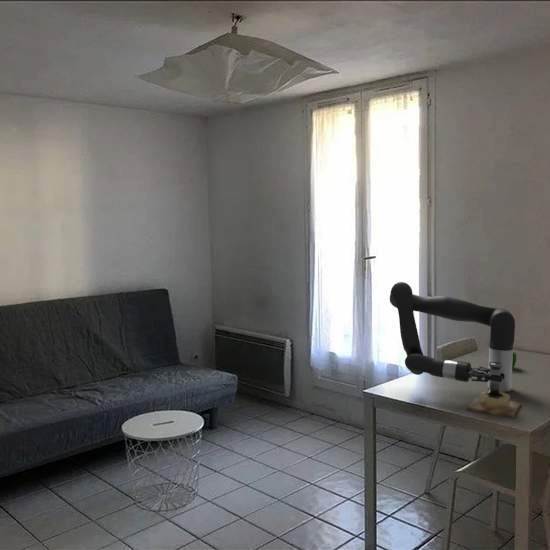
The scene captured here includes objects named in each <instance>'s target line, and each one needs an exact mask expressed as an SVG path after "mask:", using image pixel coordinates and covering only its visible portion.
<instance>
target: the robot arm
mask: <svg viewBox="0 0 550 550" xmlns="http://www.w3.org/2000/svg"><path fill="white" fill-rule="evenodd" d="M390 289H391V290H390V293H389V303H390V305H391V306H393V307H394V308H396V309H397V313H398V319H399V321H398V322H399V331H400V337H401V343H402V347H403V350H404V352H405V354H406V357H405V359H404V365H405V367H406V368H407V370H408V371H410V373H412V374H413V375H422V374H424V373H425V374H429V375H431V376H433V377H439V378H443V379H448V380H452V381H459V382H464V383H469V381H470V379H471V381H472V382H482V383H486V386H487V389H489V386H490V381H497V382H500V390H499V392H504V393H506V392H510V391H512V379H513V377H512V376H513V369H512V359H513V352H514V344H515V335H516V334H515V332H516V319H515V318H514V316H513V314H512V313H511V312H510V311H509V310H507V309H505V308H497V307H489V306H485V305H484V306H483V305H480V304H477V303H472V302H470V301H466V300H463V299H460V298H455V297H452V296H446V295H436V296H421V295H416V294H413V289H412V286H410V285H409V284H408V283H407V282H404V281H397V282H396V283H394V285H392V286H391V288H390ZM414 312H418V313H423V314H427V315H430V316H435V317H439V318H443V319H446V320H450V321H454V322H455V321H456V322H465V323H466V322H469V323H470V322H471V323H477V324H482V325H485V326H487V327H489V328H490V336H489V337H490V338H489V345H488V347H489V349H488V364H487V367H483V366H479V367H472V365H471V363H470V362H467V361H460V360H456V359H455V360H453V359H445V358H436V357H431V356H427V355H424V353H423V350H422V347H421V341H420V338H419V337H420V336H419V333H418V328H417V323H416V319H415V313H414ZM490 362H499V363H502V364H503V367H502V368H501V374H500V376H499V375H492V376H491V374H490V369H491V367H490V366H489V363H490Z"/></svg>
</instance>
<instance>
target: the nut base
mask: <svg viewBox="0 0 550 550" xmlns="http://www.w3.org/2000/svg"><path fill="white" fill-rule="evenodd" d="M521 406H522V402H518V401H517V402H516V401H512V400H510V394H509V393H506V392H500V391H499V396H491V395H489V390H486V391H485V390H484V391H482V392H481V393H480V395H477V396H476V398H475V399H474V400H473V401H472V402H471V403H470V404H469V405H468V406H467V410H468V411H471V410H472V411H471V412H477V411H478V412H477V413H482V412H484V414H488V413H489V415H495V416H501V417H505V418H512V419H513V418H514V417H515V416H516V414H517V412H518V411H519V409H520V408H521Z"/></svg>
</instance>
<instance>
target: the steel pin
mask: <svg viewBox="0 0 550 550" xmlns="http://www.w3.org/2000/svg"><path fill="white" fill-rule="evenodd" d="M488 364H489V366H490V367H491V369H490V374H491V376H492V375H499V376H500V374H501V368H502V367H503V364H502V363H499V362H490V363H489V362H488ZM488 389H489V390H488V391H489V395H491V396H499V392H500V391H499V390H500V382H497V381H490V386H489V388H488Z"/></svg>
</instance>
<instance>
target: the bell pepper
mask: <svg viewBox="0 0 550 550" xmlns="http://www.w3.org/2000/svg"><path fill="white" fill-rule="evenodd" d="M516 362H517V353H516V352H515V351H513V359H512V370H513V369H514V368H515V366H516Z"/></svg>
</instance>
